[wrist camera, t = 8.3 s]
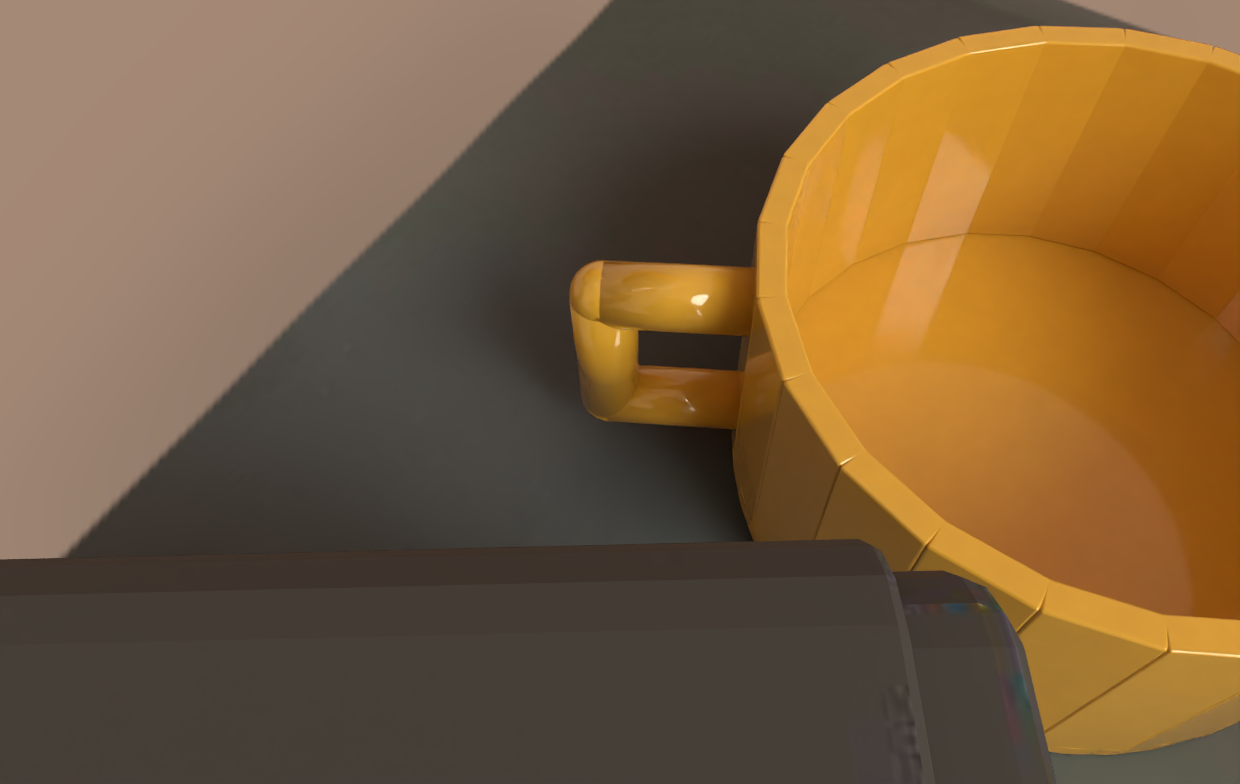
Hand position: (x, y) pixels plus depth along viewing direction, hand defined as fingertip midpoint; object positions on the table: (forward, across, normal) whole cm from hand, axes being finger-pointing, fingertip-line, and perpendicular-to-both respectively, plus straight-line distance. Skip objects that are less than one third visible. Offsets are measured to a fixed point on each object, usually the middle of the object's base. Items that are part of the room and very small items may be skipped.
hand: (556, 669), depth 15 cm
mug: (+10, +8, +1) cm, 13 cm away
